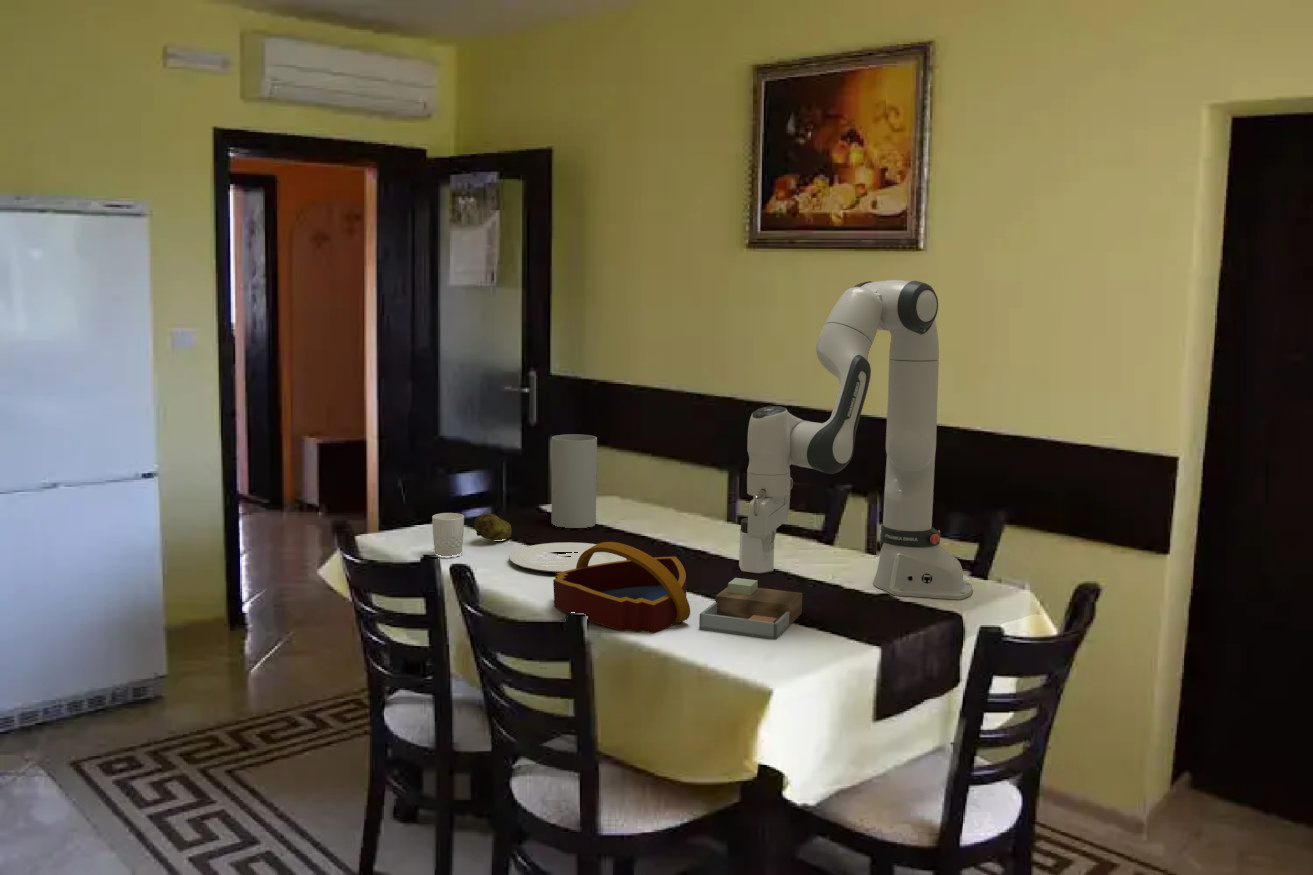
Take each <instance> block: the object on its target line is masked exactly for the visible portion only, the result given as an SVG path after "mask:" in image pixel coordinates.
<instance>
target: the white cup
mask: <svg viewBox="0 0 1313 875" xmlns="http://www.w3.org/2000/svg"><path fill="white" fill-rule="evenodd" d="M431 519H432V520H431V521H432V536H433V537H432V539H433V547H434V549H433V550H434V555H435V554H438V555H441V556H452V555H457V554H460V553H461V552H462V553H463V544H464V532H465V531H464V528H465V526H464V525H465V515H464V514H461V513H458V512H457V513H456V512H455V513H454V512H442V513H436V514H434V515H432V516H431Z"/></svg>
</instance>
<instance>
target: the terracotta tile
mask: <svg viewBox="0 0 1313 875" xmlns="http://www.w3.org/2000/svg"><path fill="white" fill-rule="evenodd" d="M749 620H756V621H764V622H772V623H775V622H776V621H777V618H773V617H765V616H758V615H753V616H751V617H750V618H749Z"/></svg>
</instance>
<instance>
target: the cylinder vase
mask: <svg viewBox="0 0 1313 875" xmlns="http://www.w3.org/2000/svg"><path fill="white" fill-rule="evenodd" d="M597 446H598V437H597V436H594V435H589V434H575V433H574V434H573V433H572V434H569V433H567V434H560V435H559V434H557V435H553V436H551V525H552V524H553V525H555V526H557V527H565V528H587V527H591V528H593V527H595V525H596V524H597V472H598V471H597V469H598V468H597V467H598V466H597V459H598V457H597V455H598V454H597V452H598V451H597V449H598V447H597ZM553 525H552V526H553ZM557 527H556V528H557ZM587 529H588V528H587Z"/></svg>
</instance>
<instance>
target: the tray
mask: <svg viewBox="0 0 1313 875" xmlns="http://www.w3.org/2000/svg"><path fill="white" fill-rule="evenodd" d="M698 620H699V621H698V622H699V623H698V625H699V626H698V629H699V630H702V631H711V632H716V633H717V632H718V633H725V634H733V635H740V636H747V637H753V638H762V639H767V640H775V641H777V640H778V639H779V638H780V637H781V636H782V635H783V633H785V631H787V630H788V628H789V627H790V626H789V612H786V613H785V614H783V615H782V616H781V617H780V618H779V619H778V620H777V621H776V622H775V623H772V622H764V621H756V620H749V619H747V618H739V617H732V616H724V615H717V602H716V601H714V602H713V603H712V604H710V605H709V606H707V607H706V608H705V609H704V610H703V611H701V612H700V613H699V619H698Z"/></svg>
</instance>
